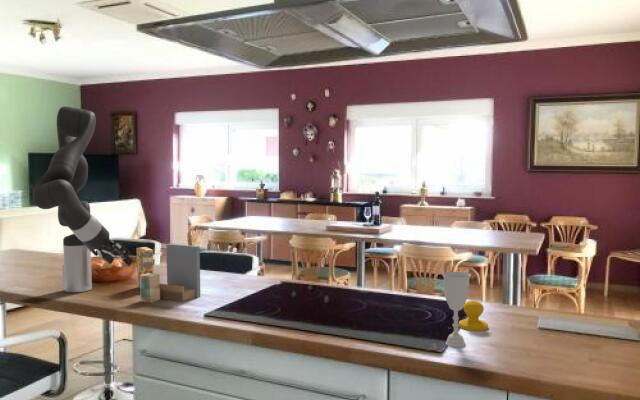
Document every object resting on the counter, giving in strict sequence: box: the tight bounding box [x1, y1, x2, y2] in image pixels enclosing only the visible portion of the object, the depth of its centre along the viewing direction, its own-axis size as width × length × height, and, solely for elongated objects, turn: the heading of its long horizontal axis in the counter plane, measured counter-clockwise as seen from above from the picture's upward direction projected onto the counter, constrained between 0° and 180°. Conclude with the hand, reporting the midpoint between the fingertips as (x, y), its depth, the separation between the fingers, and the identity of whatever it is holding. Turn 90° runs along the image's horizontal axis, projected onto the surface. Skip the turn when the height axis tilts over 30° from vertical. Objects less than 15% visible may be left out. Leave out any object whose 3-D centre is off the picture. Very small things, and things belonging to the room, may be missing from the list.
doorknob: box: [458, 299, 489, 332], centre depth 150 cm, size 8×8×8 cm
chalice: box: [441, 271, 472, 348], centre depth 135 cm, size 7×7×18 cm
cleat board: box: [160, 243, 201, 302], centre depth 186 cm, size 14×8×18 cm, turn 62°
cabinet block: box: [139, 273, 161, 304], centre depth 181 cm, size 5×4×9 cm
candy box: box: [136, 246, 155, 289], centre depth 199 cm, size 9×4×15 cm, turn 33°
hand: (121, 262), depth 170 cm, fingers open, 8 cm apart
